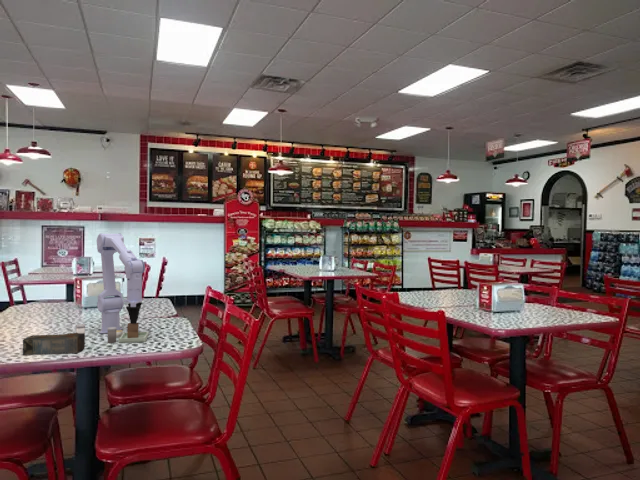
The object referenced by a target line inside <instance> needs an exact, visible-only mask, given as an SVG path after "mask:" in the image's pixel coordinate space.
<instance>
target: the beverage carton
mask: <svg viewBox="0 0 640 480" xmlns="http://www.w3.org/2000/svg"><path fill="white" fill-rule="evenodd" d="M85 341H86V333H85V334H84V333H76V332H74V333H73V332H72V333H61V334H59V333H58V334H36V335H35V334H34V335H30V336H28V335H27V336H26V338H23V339H22V355H23V356H32V355H33V356H35V355H38V356H39V355H56V354H57V355H58V354H59V355H60V354H78V353H80V352H81V351H83V350H84V349H86V347H85V346H86V345H85Z"/></svg>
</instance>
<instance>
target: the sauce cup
mask: <svg viewBox="0 0 640 480" xmlns="http://www.w3.org/2000/svg"><path fill="white" fill-rule="evenodd" d="M123 333H124V330H123V329H121V330H116V339H119V338H120V337H121V336H122V334H123Z"/></svg>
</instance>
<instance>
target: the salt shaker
mask: <svg viewBox="0 0 640 480" xmlns="http://www.w3.org/2000/svg"><path fill="white" fill-rule="evenodd" d="M75 328H76V330H75V333H84V334H85V335H86V324H83V323H81V324H76V325H75Z"/></svg>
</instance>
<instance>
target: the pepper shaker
mask: <svg viewBox="0 0 640 480" xmlns="http://www.w3.org/2000/svg"><path fill="white" fill-rule="evenodd" d="M116 330H117V327H108V333H107V344H115V343H117V338H116Z"/></svg>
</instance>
